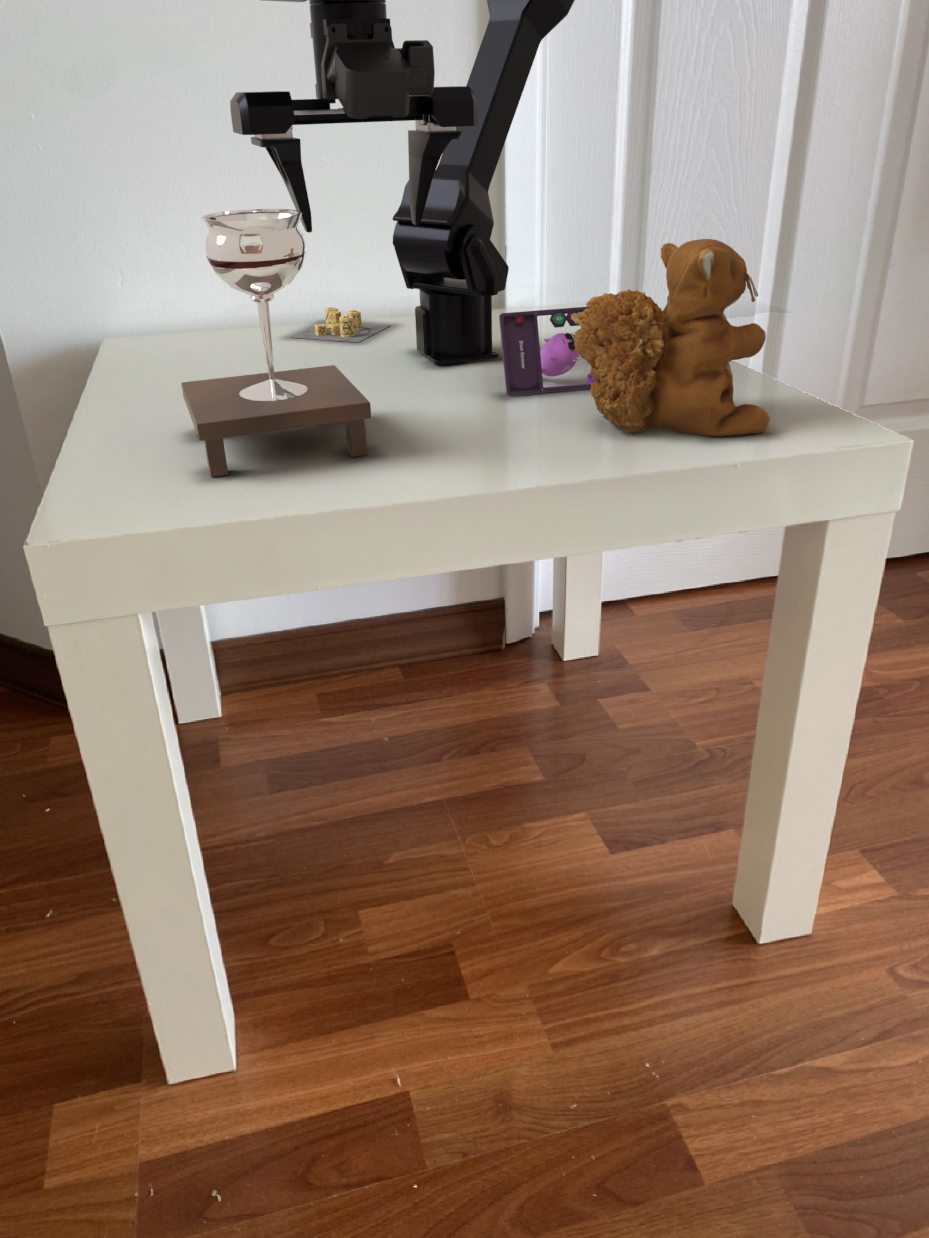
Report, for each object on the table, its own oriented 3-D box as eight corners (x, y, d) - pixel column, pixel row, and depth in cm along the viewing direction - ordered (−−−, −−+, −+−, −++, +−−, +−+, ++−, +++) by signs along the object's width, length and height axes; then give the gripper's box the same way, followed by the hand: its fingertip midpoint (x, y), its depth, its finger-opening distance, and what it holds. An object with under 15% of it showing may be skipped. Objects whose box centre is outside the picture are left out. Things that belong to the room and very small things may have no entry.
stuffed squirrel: (779, 433, 71) (806, 246, 65) (599, 451, 69) (608, 258, 62) (720, 396, 80) (739, 227, 73) (559, 410, 77) (563, 237, 71)
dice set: (330, 324, 106) (328, 307, 106) (371, 327, 105) (370, 309, 104) (307, 335, 102) (305, 316, 101) (350, 338, 101) (348, 319, 100)
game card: (502, 312, 79) (604, 304, 81) (486, 321, 84) (583, 313, 86) (510, 395, 80) (610, 385, 82) (494, 399, 85) (589, 389, 87)
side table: (339, 413, 78) (334, 364, 76) (374, 456, 69) (370, 402, 67) (189, 432, 75) (180, 382, 73) (205, 480, 66) (196, 424, 64)
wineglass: (339, 389, 70) (323, 213, 64) (263, 411, 66) (238, 224, 60) (283, 373, 74) (263, 206, 68) (208, 393, 70) (180, 217, 64)
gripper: (237, -3, 62) (267, 250, 70) (503, -3, 68) (503, 232, 75) (216, 8, 71) (244, 231, 79) (452, 7, 77) (456, 216, 84)
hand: (363, 228), depth 79 cm, fingers open, 9 cm apart
